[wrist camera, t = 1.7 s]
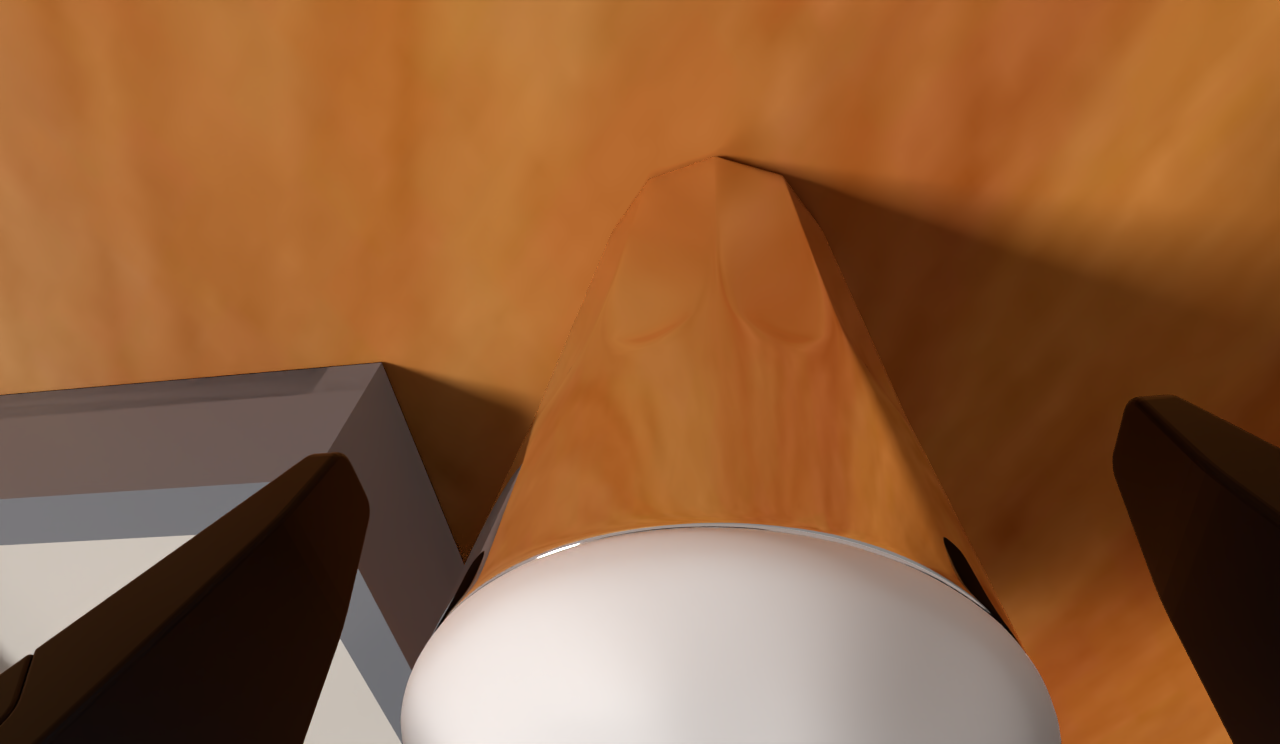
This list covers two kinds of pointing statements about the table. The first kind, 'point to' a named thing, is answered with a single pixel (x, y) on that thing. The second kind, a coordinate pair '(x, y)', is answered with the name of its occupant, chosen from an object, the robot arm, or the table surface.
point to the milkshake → (722, 518)
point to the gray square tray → (221, 511)
